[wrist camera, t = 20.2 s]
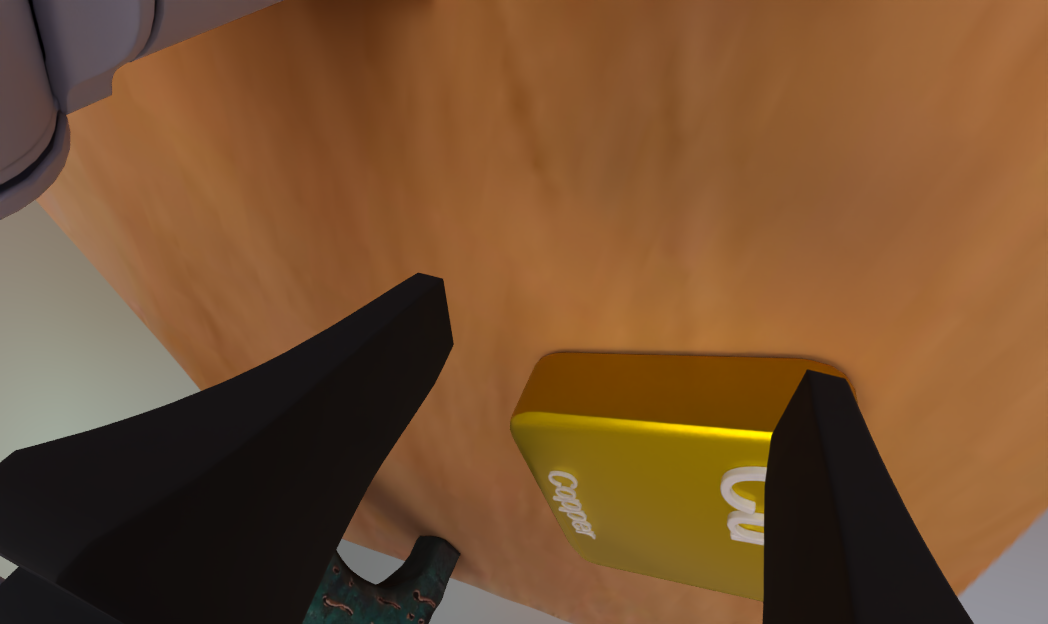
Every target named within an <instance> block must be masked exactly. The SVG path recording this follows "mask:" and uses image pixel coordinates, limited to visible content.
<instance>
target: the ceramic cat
mask: <svg viewBox="0 0 1048 624" xmlns="http://www.w3.org/2000/svg"><path fill="white" fill-rule="evenodd" d="M459 556H460V553H459V552H458V551H457V550H456V549H455V548H453V547H452V546H451V545H450V544H449V543H448V542H447V541H446V540H444V539H442V538H439V537H434V536H420V537H419V538H418V539H417V541H416V543H415V545H414V547H413V549H412V551H411V554H410V555H409V557H408V558H407V559H406V561H405V562H404V564H403V565H402V566H401V567H400V568H399V569H398V570H396V571H395V572H394V573H393V574H392V575H390V576H389V577H388V578H387V579H385V580H384V581H382V582H381V583H379V584H376V585H375V584H373V583H371V582H369V581H366V580H364V579H363V578H361V577H360V576H358V575H357V574H356V573H354V572H353V571H352V570H351V569H350V568H349V567H348V566H347V565H346V564H345V562H344V561H343V560H342V559H341V557H340V555H339V554H338V552H337V550H336V551H335V553H334V555H333V557H332V559H331V561H330V563H329V565H328V568H327V570H326V572H325V574H324V576H323V578H322V581H321V583H320V585H319V587H318V589H317V592H316V594H315V596H314V598H313V600H312V602H311V605H310V607H309V609H308V611H307V614H306V616H305V619H304V621H303V623H302V624H429V622H430V619H431V617H432V614H433V613H434V611H435V609H436V608H437V607H438V605H439V604H440V602H441V600H442V598H443V595H444V592H445V589H446V586H447V583H448V581H449V578H450V576H451V574H452V572H453V569H454V567H455V565H456V563H457V560H458V558H459Z"/></svg>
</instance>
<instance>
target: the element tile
mask: <svg viewBox="0 0 1048 624" xmlns="http://www.w3.org/2000/svg"><path fill="white" fill-rule="evenodd" d="M807 369H809V370H813V371H817V372H821V373H825V374H829V375H833V376H837V377H841V378H845V379H846V380H847V382H848V383H849V385H850V387H851V390H852V392H853V395H854V397H855V400H856V402H857V397H856V392H855V389H854V387H853V386H852V384H851V383H850V381H849V380H848V378H847V377H846V375H845V374H843V373H842V372H840V371H839V370H837V369H836V368H834V367H833V366H830V365H827V364H823V363H820V362H816V361H813V360H807V359H799V358H760V357H721V356H683V355H644V354H605V353H566V352H563V353H554V354H550V355H548V356H545V357H543V358H541V359H540V360H539V362H538V363H537V364H536V365H535V367H534V369H533V371H532V373H531V375H530V377H529V380H528V382H527V384H526V386H525V388H524V390H523V393H522V395H521V397H520V399H519V401H518V403H517V406H516V408H515V410H514V412H513V414H512V417H511V420H510V431H511V434H512V437H513V439H514V441H515V442H516V444H517V446H518V448H519V450H520V452H521V454H522V456H523V457H524V459H525V461H526V463H527V465H528V467H529V469H530V470H531V472H532V474H533V476H534V478H535V480H536V482H537V484H538V485H539V487H540V489H541V491H542V493H543V495H544V497H545V499H546V500H547V502H548V504H549V506H550V508H551V510H552V512H553V513H554V515H555V517H556V519H557V521H558V523H559V525H560V527H561V528H562V530H563V532H564V534H565V536H566V538H567V540H568V542H569V543H570V544H571V546H572V547H573V548H574V549H575V550H576V551H577V552H578V554H579V555H580V556H581V557H582V558H584V559H585V560H587V561H589V562H591V563H594V564H598V565H602V566H607V567H611V568H615V569H620V570H624V571H629V572H633V573H638V574H642V575H647V576H651V577H656V578H660V579H664V580H669V581H673V582H678V583H682V584H687V585H691V586H696V587H700V588H705V589H709V590H713V591H718V592H722V593H727V594H731V595H736V596H740V597H745V598H749V599H754V600H758V601H762V602H763V596H764V486H765V478H766V470H767V462H768V455H769V449H770V442H771V435H772V433H773V431H774V429H775V428H776V426H777V424H778V422H779V420H780V418H781V416H782V415H783V413H784V411H785V409H786V407H787V405H788V404H789V402H790V400H791V398H792V396H793V394H794V392H795V391H796V389H797V387H798V385H799V383H800V381H801V380H802V378H803V376H804V374H805V372H806V370H807Z"/></svg>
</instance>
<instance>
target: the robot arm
mask: <svg viewBox="0 0 1048 624" xmlns="http://www.w3.org/2000/svg"><path fill="white" fill-rule="evenodd" d="M281 1H283V0H0V220H1V219H3V218H5V217H7V216H9V215H11V214H13V213H15V212H17V211H19V210H20V209H22V208H23V207H25V206H27V205H28V204H29V203H31V202H32V201H34V200H35V199H37V198H38V197H40V196H41V195H42V194H43V193H44V192H45V191H46V190H47V189H48V188H49V187H50V186H51V185H52V184H53V183H54V182H55V180H56V179H57V177H58V175H59V174H60V172H61V171H62V169H63V168H64V166H65V163H66V160H67V156H68V153H69V150H70V128H69V123H68V119H67V116H66V115H67V114H70V113H72V112H74V111H76V110H79V109H81V108H83V107H85V106H88V105H90V104H92V103H94V102H97V101H99V100H101V99H104V98H106V97H108V96H110V95H112V78H113V75H114V73H115V71H116V70H117V69H118V68H120V67H121V66H123V65H124V64H126V63H128V62H132V61H135V60H137V59H140V58H142V57H144V56H147V55H149V54H152V53H154V52H157V51H159V50H162V49H164V48H167V47H169V46H172V45H174V44H177V43H179V42H182V41H184V40H187V39H189V38H192V37H194V36H196V35H199V34H201V33H204V32H206V31H209V30H211V29H214V28H216V27H219V26H221V25H224V24H226V23H229V22H231V21H234V20H236V19H239V18H241V17H243V16H246V15H248V14H251V13H253V12H256V11H258V10H261V9H263V8H266V7H268V6H271V5H273V4H276V3H278V2H281ZM453 345H454V343H453V337H452V331H451V325H450V318H449V312H448V306H447V300H446V294H445V287H444V281H443V279H442V278H438V277H434V276H430V275H426V274H422V273H417V274H415V275H413V276H412V277H410V278H408V279H407V280H405V281H403V282H402V283H400V284H398V285H397V286H395V287H394V288H392V289H391V290H389V291H387V292H386V293H384V294H383V295H381V296H380V297H378V298H376V299H375V300H373V301H372V302H370V303H369V304H367V305H365V306H364V307H362V308H360V309H359V310H357V311H356V312H354V313H352V314H351V315H349V316H347V317H346V318H344V319H343V320H341V321H339V322H338V323H336V324H335V325H333V326H331V327H330V328H328V329H326V330H324V331H322V332H321V333H319V334H317V335H315V336H314V337H312V338H310V339H308V340H306V341H305V342H303V343H301V344H299V345H298V346H296V347H294V348H292V349H290V350H289V351H287V352H285V353H283V354H281V355H279V356H277V357H275V358H273V359H271V360H269V361H267V362H265V363H263V364H261V365H259V366H257V367H255V368H253V369H251V370H249V371H247V372H244V373H242V374H240V375H238V376H236V377H234V378H232V379H229V380H227V381H225V382H222V383H220V384H218V385H215V386H213V387H210V388H208V389H205V390H203V391H200V392H198V393H195V394H193V395H190V396H188V397H185V398H183V399H180V400H178V401H175V402H173V403H170V404H167V405H165V406H162V407H159V408H156V409H153V410H151V411H148V412H145V413H143V414H139V415H136V416H133V417H130V418H127V419H124V420H121V421H118V422H115V423H112V424H109V425H105V426H102V427H99V428H96V429H92V430H89V431H85V432H82V433H78V434H75V435H71V436H67V437H64V438H60V439H56V440H53V441H49V442H46V443H42V444H39V445H35V446H31V447H27V448H24V449H19V450H16V451H14V452H13V453H11V454H10V455H9V456H8V457H6V458H5V459H4V460H3V461H2V462H0V556H2V557H3V558H5V559H7V560H9V561H10V562H12V563H14V564H16V565H17V566H19V567H18V568H17V569H16V570H15V571H14V572H13V573H12V574H11V575H10V576H8V578H6V579H4V578H2V577H0V624H302V623H303V621H304V619H305V616H306V614H307V611H308V609H309V607H310V605H311V602H312V600H313V598H314V596H315V594H316V592H317V589H318V587H319V585H320V583H321V581H322V578H323V576H324V574H325V572H326V570H327V568H328V565H329V563H330V561H331V559H332V557H333V555H334V553H335V551H336V549H337V547H338V545H339V543H340V541H341V539H342V537H343V535H344V533H345V531H346V529H347V527H348V525H349V523H350V521H351V519H352V517H353V515H354V513H355V511H356V509H357V507H358V505H359V503H360V502H361V500H362V498H363V496H364V494H365V492H366V490H367V488H368V486H369V485H370V483H371V481H372V479H373V478H374V476H375V474H376V473H377V471H378V469H379V468H380V466H381V464H382V463H383V461H384V460H385V458H386V457H387V455H388V454H389V452H390V451H391V449H392V448H393V446H394V445H395V443H396V442H397V440H398V439H399V437H400V436H401V434H402V433H403V431H404V430H405V428H406V427H407V425H408V424H409V422H410V421H411V419H412V418H413V416H414V415H415V413H416V412H417V410H418V409H419V407H420V406H421V404H422V403H423V401H424V400H425V398H426V397H427V395H428V393H429V392H430V390H431V389H432V387H433V386H434V384H435V382H436V380H437V378H438V376H439V374H440V372H441V370H442V368H443V366H444V364H445V362H446V360H447V358H448V356H449V354H450V351H451V349H452V347H453ZM763 624H974V623H973V621H972V620H971V619H970V617H969V615H968V614H967V612H966V611H965V609H964V608H963V606H962V604H961V603H960V601H959V600H958V598H957V596H956V595H955V593H954V591H953V590H952V588H951V587H950V585H949V583H948V582H947V580H946V578H945V577H944V575H943V573H942V572H941V570H940V568H939V566H938V565H937V563H936V561H935V559H934V558H933V556H932V554H931V552H930V551H929V549H928V547H927V545H926V544H925V542H924V540H923V538H922V537H921V535H920V533H919V531H918V529H917V527H916V526H915V524H914V522H913V520H912V518H911V516H910V514H909V513H908V511H907V509H906V507H905V505H904V503H903V501H902V499H901V497H900V495H899V493H898V491H897V489H896V487H895V485H894V483H893V481H892V479H891V477H890V475H889V473H888V471H887V469H886V467H885V465H884V463H883V461H882V458H881V456H880V454H879V452H878V450H877V448H876V445H875V443H874V441H873V439H872V437H871V434H870V432H869V430H868V428H867V425H866V423H865V421H864V419H863V416H862V414H861V412H860V409H859V407H858V404H857V402H856V400H855V397H854V395H853V392H852V390H851V387H850V385H849V383H848V382H847V380H846V379H845V378H841V377H837V376H833V375H829V374H825V373H821V372H817V371H813V370H809V369H807V370H806V372H805V374H804V376H803V378H802V380H801V381H800V383H799V385H798V387H797V389H796V391H795V392H794V394H793V396H792V398H791V400H790V402H789V404H788V405H787V407H786V409H785V411H784V413H783V415H782V416H781V418H780V420H779V422H778V424H777V426H776V428H775V429H774V431H773V433H772V435H771V442H770V449H769V455H768V462H767V470H766V478H765V486H764V596H763Z"/></svg>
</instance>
